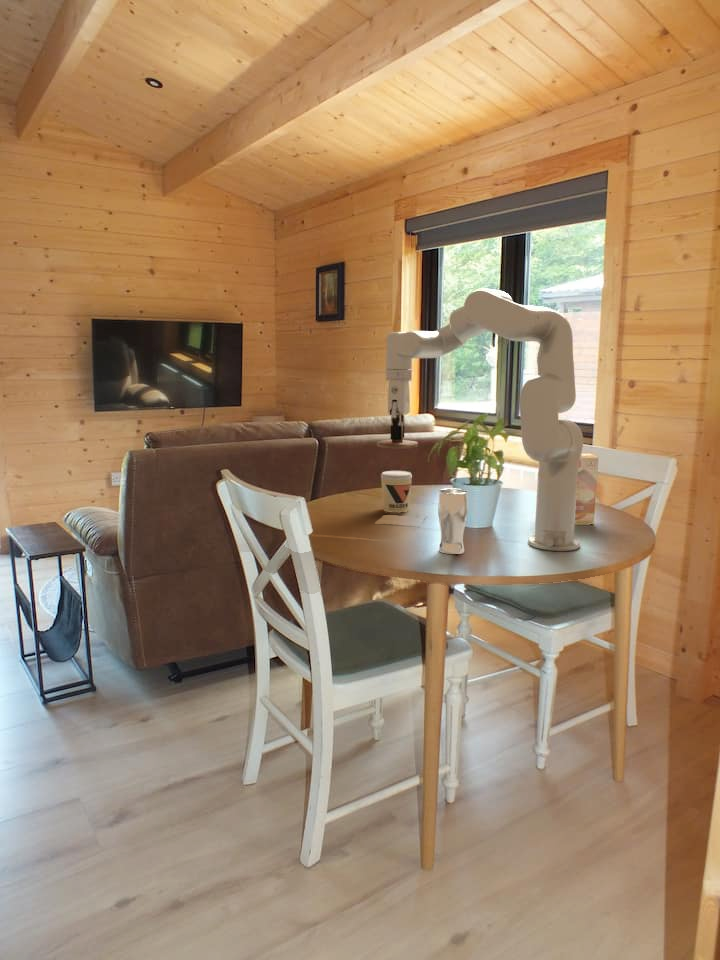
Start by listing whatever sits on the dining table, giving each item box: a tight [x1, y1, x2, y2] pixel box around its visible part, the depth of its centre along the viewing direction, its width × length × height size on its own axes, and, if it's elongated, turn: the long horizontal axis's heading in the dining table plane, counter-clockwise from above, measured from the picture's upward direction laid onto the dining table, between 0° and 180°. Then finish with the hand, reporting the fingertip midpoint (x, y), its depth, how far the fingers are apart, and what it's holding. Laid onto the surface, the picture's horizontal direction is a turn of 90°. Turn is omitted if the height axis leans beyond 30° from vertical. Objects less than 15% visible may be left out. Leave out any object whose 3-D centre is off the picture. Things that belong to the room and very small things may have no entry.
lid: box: [376, 422, 419, 450], centre depth 208 cm, size 12×12×7 cm
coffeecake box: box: [538, 453, 599, 526], centre depth 201 cm, size 15×7×20 cm, turn 91°
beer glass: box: [437, 487, 468, 555], centre depth 171 cm, size 7×7×15 cm
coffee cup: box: [380, 470, 413, 512], centre depth 213 cm, size 9×9×12 cm
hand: (397, 438), depth 208 cm, fingers closed on lid, 3 cm apart
